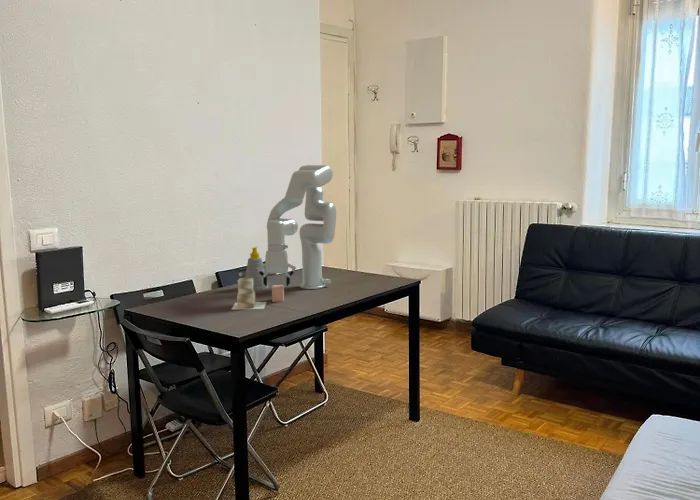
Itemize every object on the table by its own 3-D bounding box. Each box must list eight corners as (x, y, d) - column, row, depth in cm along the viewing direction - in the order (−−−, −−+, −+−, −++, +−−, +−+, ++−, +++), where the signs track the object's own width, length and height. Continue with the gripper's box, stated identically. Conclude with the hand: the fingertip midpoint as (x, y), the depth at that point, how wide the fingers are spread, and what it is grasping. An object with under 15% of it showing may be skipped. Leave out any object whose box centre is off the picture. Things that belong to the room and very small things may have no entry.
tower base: (255, 304, 284) (255, 290, 283) (253, 308, 277) (253, 294, 276) (239, 304, 283) (239, 291, 282) (237, 308, 276) (237, 294, 275)
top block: (284, 299, 293) (283, 284, 292) (283, 302, 288) (282, 287, 287) (273, 300, 293) (272, 285, 292) (272, 302, 288) (271, 287, 287)
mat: (266, 302, 287) (266, 302, 287) (264, 309, 275) (264, 308, 275) (235, 303, 287) (235, 302, 287) (231, 310, 275) (231, 309, 275)
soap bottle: (271, 285, 324) (269, 245, 321) (265, 290, 312) (264, 249, 309) (247, 285, 325) (245, 245, 322) (240, 290, 313) (238, 249, 310)
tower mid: (253, 291, 282) (253, 277, 281) (252, 294, 276) (251, 280, 275) (240, 291, 282) (239, 278, 281) (238, 294, 276) (237, 280, 275)
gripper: (295, 246, 290) (296, 284, 293) (257, 247, 290) (258, 284, 292) (295, 248, 283) (295, 287, 285) (255, 249, 282) (256, 287, 284)
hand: (276, 285), depth 289 cm, fingers open, 9 cm apart
